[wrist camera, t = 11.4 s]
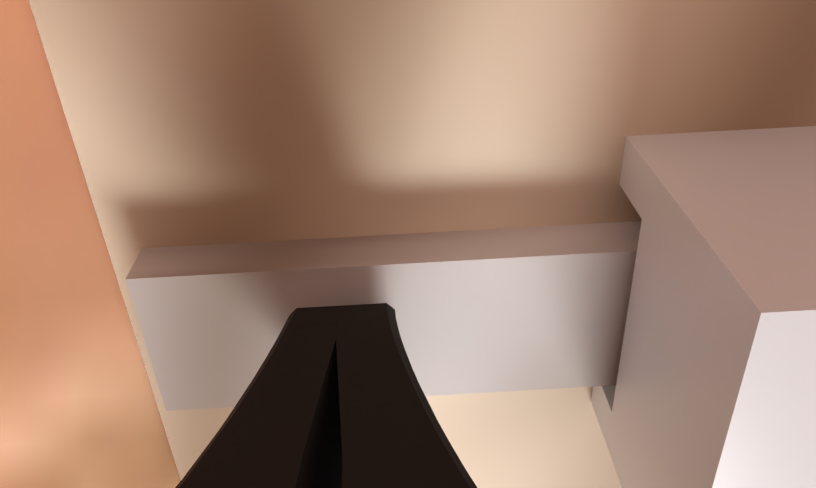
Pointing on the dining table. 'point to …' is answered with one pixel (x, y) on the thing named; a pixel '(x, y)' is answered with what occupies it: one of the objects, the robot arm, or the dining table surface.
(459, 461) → the robot arm
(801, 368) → the block
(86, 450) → the dining table surface
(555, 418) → the rail board
